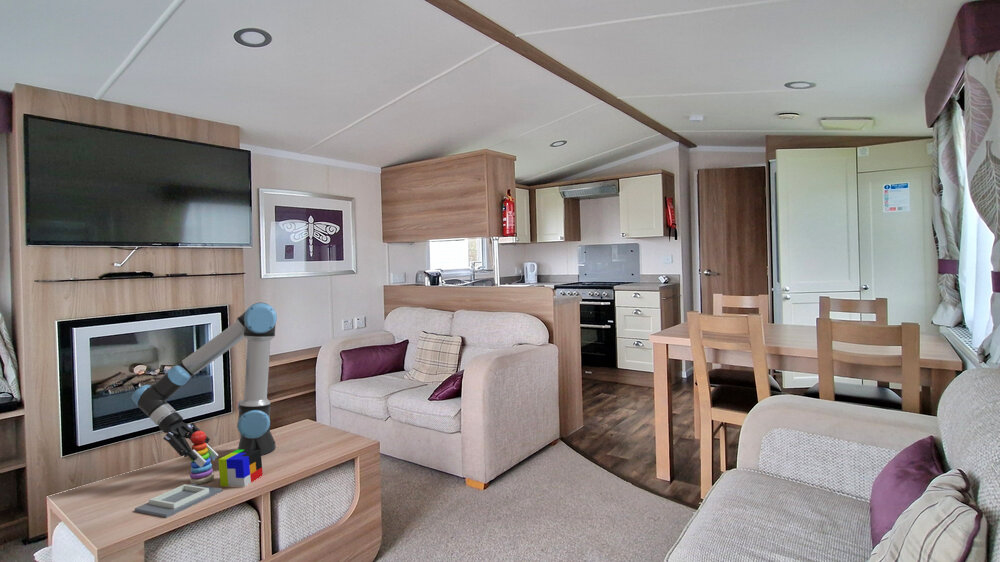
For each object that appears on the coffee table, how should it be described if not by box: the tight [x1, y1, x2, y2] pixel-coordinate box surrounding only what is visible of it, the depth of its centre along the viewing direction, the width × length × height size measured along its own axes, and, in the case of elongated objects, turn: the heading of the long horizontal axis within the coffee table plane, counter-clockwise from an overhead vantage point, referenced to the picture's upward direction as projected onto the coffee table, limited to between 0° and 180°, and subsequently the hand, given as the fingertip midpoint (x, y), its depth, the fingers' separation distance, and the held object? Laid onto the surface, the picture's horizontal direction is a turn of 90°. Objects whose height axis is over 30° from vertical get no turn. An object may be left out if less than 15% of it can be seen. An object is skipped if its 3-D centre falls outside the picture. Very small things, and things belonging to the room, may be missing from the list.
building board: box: [134, 483, 223, 519], centre depth 178 cm, size 20×16×2 cm
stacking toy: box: [189, 430, 215, 485], centre depth 195 cm, size 8×8×19 cm
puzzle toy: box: [217, 449, 264, 488], centre depth 193 cm, size 10×10×10 cm
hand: (209, 461), depth 195 cm, fingers closed on stacking toy, 6 cm apart
